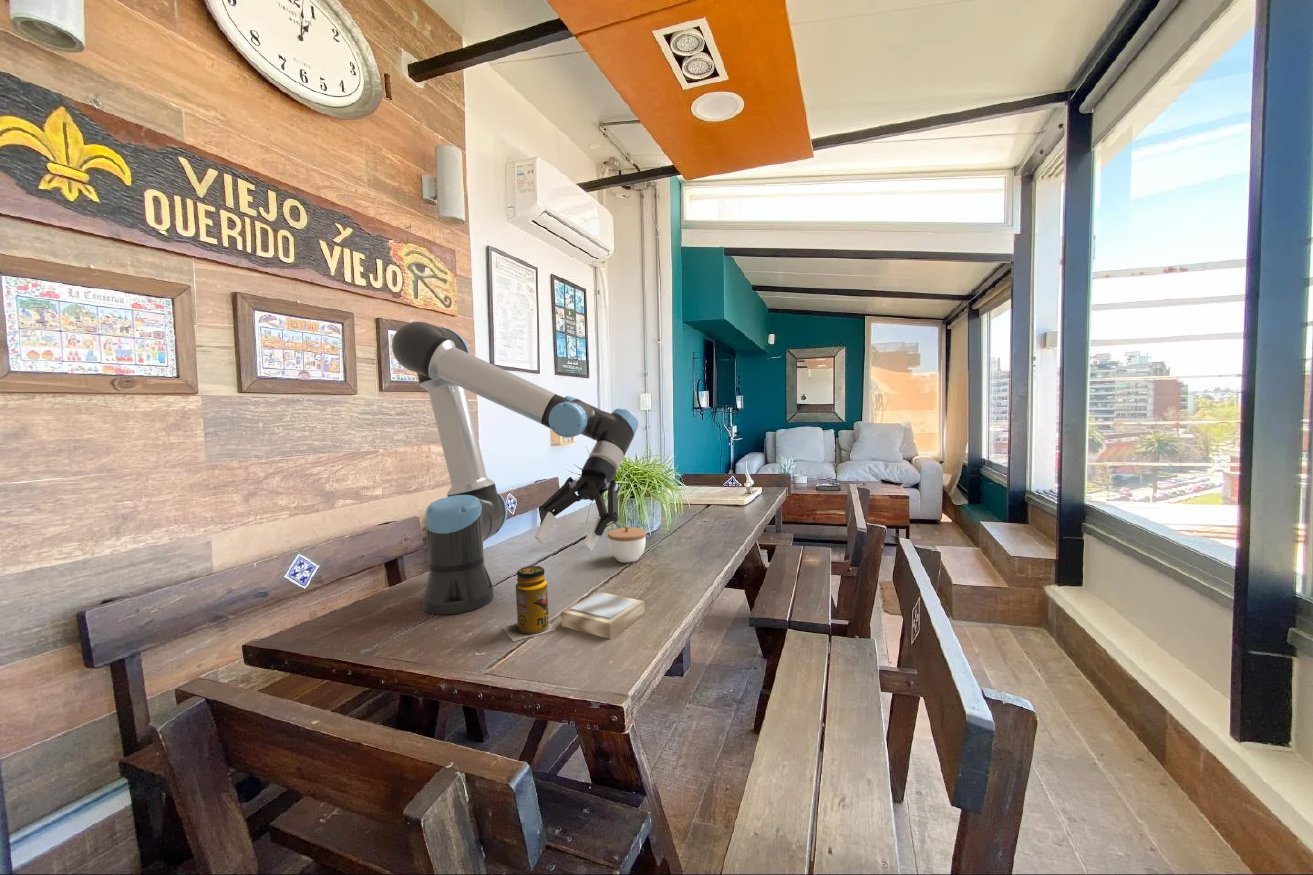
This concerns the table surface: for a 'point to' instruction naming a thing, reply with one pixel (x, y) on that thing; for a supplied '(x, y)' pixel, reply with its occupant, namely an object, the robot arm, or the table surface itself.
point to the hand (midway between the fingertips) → (562, 543)
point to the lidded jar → (627, 543)
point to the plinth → (603, 614)
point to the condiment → (530, 604)
